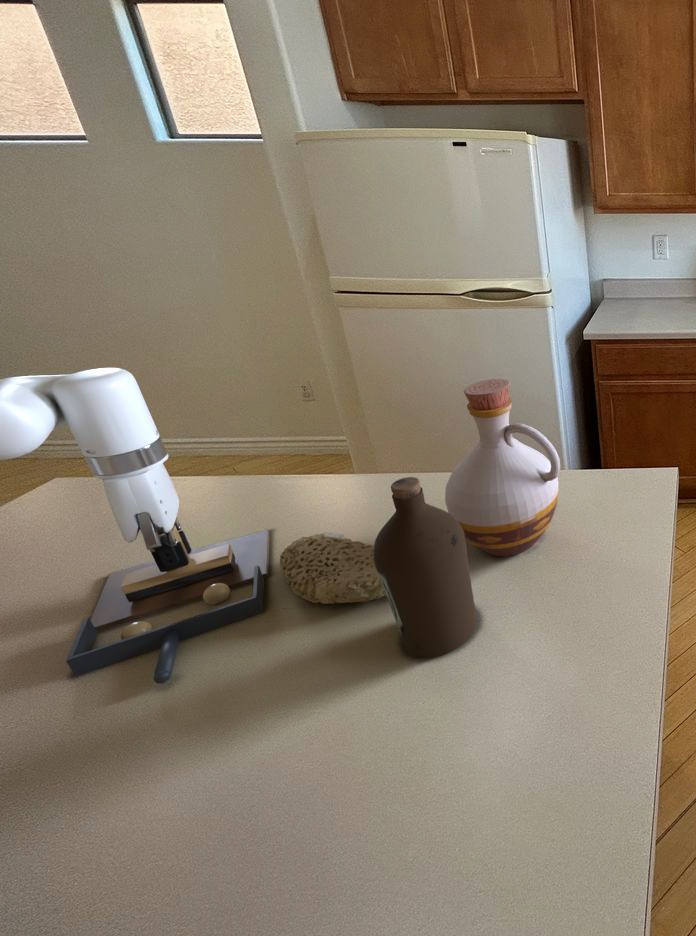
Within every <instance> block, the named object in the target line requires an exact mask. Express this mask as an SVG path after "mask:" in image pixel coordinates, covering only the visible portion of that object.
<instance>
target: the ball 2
mask: <svg viewBox="0 0 696 936" xmlns="http://www.w3.org/2000/svg"><path fill="white" fill-rule="evenodd" d="M230 594H231V589H229V587H228V586H227V585H226V584H223V583H216V584H212V585H210V586H209V587H207V588H206V589H205V591H204V593H203V598H202V599H203V601H204V602H205V603H206V604H209V605H218V604H221V603H223V602H225V601H226V600H227V599H228V597H229V596H230Z"/></svg>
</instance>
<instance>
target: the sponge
mask: <svg viewBox="0 0 696 936" xmlns="http://www.w3.org/2000/svg"><path fill="white" fill-rule="evenodd" d="M279 557H280V558H279V564H280V569H281V570H280V572H282V576H283V577H284V578H285V579H286V583H287V585H289V587H290V590H291V591H292V592H293V594H294V595H296V596H298V597H299V598H301V599H303V600H306V601H309V602H311V603H314V604H318V603H319V602H320V604H323V605H327V604H328V605H329V604H330V605H331V604H339V603H340V604H345V603H361V602H362V603H366V602H370V601H372V600H379V599H380V598H383V597H387V596H386V593H385V590H384V588H383V585H382V583H381V580H380V577H379V575H378V572H377V570H376V567H375V563H374V545H372V544H367V543H364V542H361V541H360V540H357V541H353V540H352V539H350V538H347V537H345V535H344V534H343V533H336V532H323V533H316V534H314V535H313V534H312V535H309V536H302V537H300V538H299V539H296V540H294V541H292V542H291V544H289V545H288V546H286V548H284V549H283V551H282V552H281V554H280V555H279Z"/></svg>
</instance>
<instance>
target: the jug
mask: <svg viewBox="0 0 696 936" xmlns="http://www.w3.org/2000/svg"><path fill="white" fill-rule="evenodd" d="M510 386H511V382H510V380H508V379H503V378H493V379H492V378H491V379H486V380H481V381H477V382H473V383H472V384H469V385H468V386H466V387H465V388H464V390H463V394H464V395H465V397H466V399H467V401H468V403H467V405H466V408H467V411H468V413H469V414H470V416H472V417H473V419H474V422H475V424H476V426H477V428H476V429H477V432H478V435H479V442H478V443H477V444H476V445H475V447H474V448H473V449H472V450H471V451H470V452H469V453H468V455H467V456H466V457H465V458H463V459H462V460H461V461H460V462H459V463H458V465H456V466H455V468H454V469H453V470H452V472H451V473H450V476H449V477H448V480H447V482H446V484H445V492H444V502H445V506H446V509H447V512H448V513H450V514H451V515H452V516H454V517H455V519H456V520H457V521H458V523H459V524H460V526H461V527H462V529H463V532H464V535H465V541H466V542H468V543H469V544H471V545H473V546H474V547H477V548H478V549H480V550H481V551H483V552H486V553H488V554H490V555H492V556H495V557H512V556H517V555H520V554H523V553H524V552H526V551H528V550H530V549H531V548H532V547H533V546H534V545H535V544H536V543H537V542H538V541H539V539H540V538H541V537H542V536H543V534H544V533H545V532H546V530H547V529H548V528H549V526H550V525H551V523H552V521H553V518H554V515H555V513H556V510H557V509H556V508H557V504H558V499H559V492H560V491H559V486H560V485H559V477H558V476H559V474H560V470H561V461H560V457H559V454H558V451H557V450H556V448H555V447H554V445H553V444H552V442H551V441H550V440H549V439H548V438H547V437H546V436H545V435H544V434H543V433H541V432H540V431H539V430H537V429H536V428H533V427H532V426H530V425H527V424H524V423H512V424H510V422H509V421H510V411H511V410H512V407H513V406H512V405H513V399H512V397H509V393H510ZM515 433H519V434H522V435H525V436H528V437H529V438H530V439H533V440H534V441H535V442H536V443H537V444H538V445H539V446H540V447H541V448H542V449H543V450H544V452H545V453H546V455H547V457H548V458H547V457H546V456H545V455H544V454H543V453H542V452H539V451H538V450H536V449H534V448H533V447H530V446H529V445H526V444H525V443H522V442H520V441H519V440H517V439H516V438H514V437H513V434H515Z"/></svg>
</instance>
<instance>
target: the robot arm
mask: <svg viewBox="0 0 696 936" xmlns="http://www.w3.org/2000/svg"><path fill="white" fill-rule="evenodd" d="M61 426H67V427H68V428H69V429H70V432H71V433H72V435H73V438H74V439H75V442H76V444H77V446H78V448H79V450H80V452H81V454H82V455H83V458H84V460H85V462H86V464H87V465H88V468H89V470H90V472H91V473H92V475H93V477H94V478H95V479H98V480H102V483H103V489H104V492H105V495H106V498H107V502H108V504H109V506H110V509H111V512H112V514H113V516H114V519H115V521H116V524H117V526H118V529H119V530H120V533H121V536H122V538H123V540H124V541H125V542H127V543H133V542H134V541H137V538H138V536H139V533H140V532H141V535H142V538H143V542H144V545H145V548H146V550H147V551H149V552H150V554H151V556H152V558H153V560H154V561H155V562H156V564H157V566H158V568H159V570H160V572H166V571H169V570H172V569H176V568H179V567H183V566H186V565H188V564H189V560H188V557H187V555H186V553H185V551H184V549H183V546H182V544H181V542H177V540H176V538H175V536H174V533H173V531H172V528H173V526H174V525H175V526H176V528H177V531H178V533H179V535H180V537H181V539H182V542H183V544H184V546H185V548H186V551H187V553H188V554H190V553H191V551H192V546H191V545H190V543H189V541H188V539H187V537H186V534H185V532H184V530H182V526H181V523H180V521H179V519H178V511H179V509H180V500H179V495H178V493H177V490H176V488H175V486H174V483H173V481H172V479H171V477H170V474H169V472H168V471H167V468H166V467H165V465H164V463H165V462H167V460H168V459H169V457H170V456H169V454H168V451H167V449H166V446H165V445H164V442H163V440H162V437H161V435H160V433H159V430H158V428H157V426H156V424H155V422H154V419H153V417H152V414H151V412H150V409H149V408H148V405H147V403H146V401H145V398H144V396H143V393H142V391H141V389H140V386H139V384H138V382H137V380H136V378H135V376H134V375H133V374H132V373H131V372H130V371H128V370H126V369H123V368H120V367H101V368H93V369H92V368H91V369H87V370H86V369H85V370H81V371H77V372H74V373H71V374H54V375H53V374H52V375H51V374H50V375H49V374H48V375H24V376H21V375H19V376H11V377H5V378H4V377H3V378H0V461H4V460H11V459H16V458H20V457H23V456H25V455H27V454H30V453H32V452H34V451H35V450H36V449H38V448H39V447H40V446H41V445H42V444H43V443H44V442H45V441H46V440H47V439H48V437H49V436H50V434H51V433H52V431H54V430H56V429H57V428H59V427H61ZM164 533H165V534H166V536H167V537H165V536H163V537H159V536H158V535H161V534H164Z"/></svg>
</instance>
